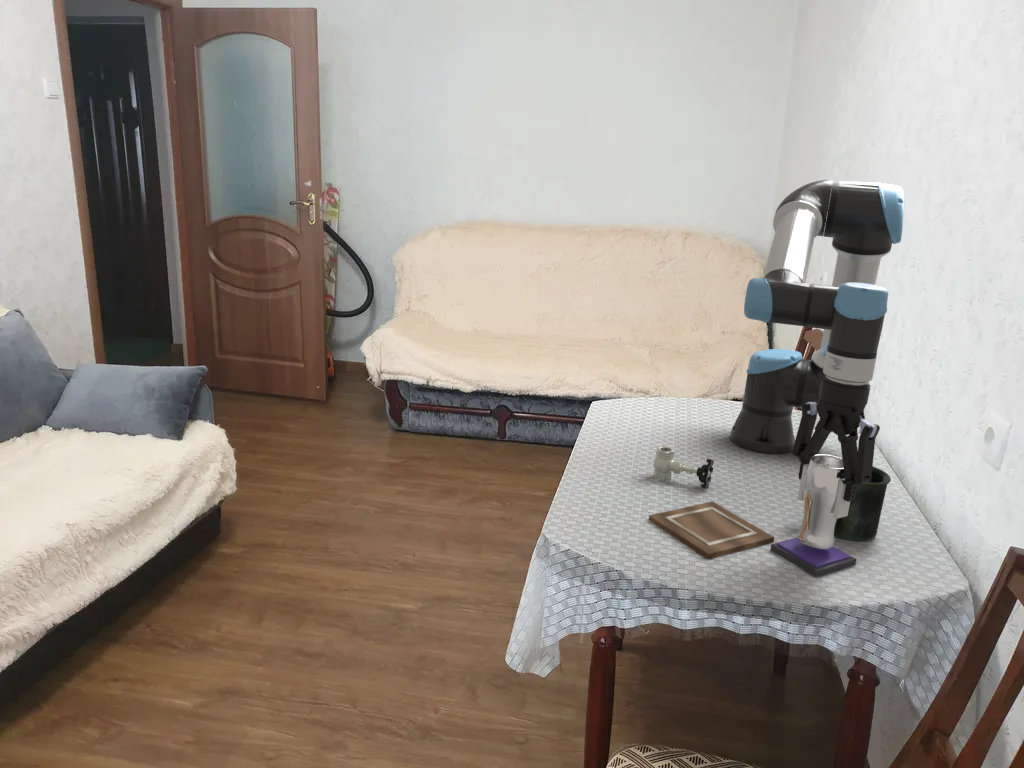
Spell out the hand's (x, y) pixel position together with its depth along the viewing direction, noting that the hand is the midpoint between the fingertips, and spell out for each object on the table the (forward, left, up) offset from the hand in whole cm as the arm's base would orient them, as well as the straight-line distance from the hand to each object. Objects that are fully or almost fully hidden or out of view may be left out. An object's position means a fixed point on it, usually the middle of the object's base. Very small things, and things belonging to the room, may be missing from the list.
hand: (821, 507), depth 133 cm
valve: (0, -35, -10) cm, 36 cm away
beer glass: (0, 0, -7) cm, 7 cm away
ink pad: (0, 0, -10) cm, 10 cm away
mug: (-14, -6, -10) cm, 18 cm away
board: (+10, -15, -10) cm, 20 cm away
